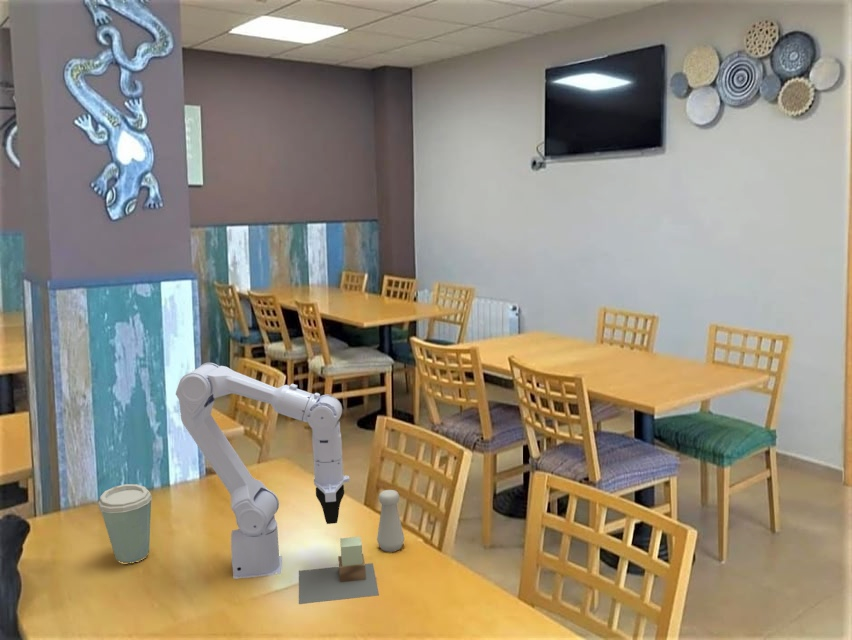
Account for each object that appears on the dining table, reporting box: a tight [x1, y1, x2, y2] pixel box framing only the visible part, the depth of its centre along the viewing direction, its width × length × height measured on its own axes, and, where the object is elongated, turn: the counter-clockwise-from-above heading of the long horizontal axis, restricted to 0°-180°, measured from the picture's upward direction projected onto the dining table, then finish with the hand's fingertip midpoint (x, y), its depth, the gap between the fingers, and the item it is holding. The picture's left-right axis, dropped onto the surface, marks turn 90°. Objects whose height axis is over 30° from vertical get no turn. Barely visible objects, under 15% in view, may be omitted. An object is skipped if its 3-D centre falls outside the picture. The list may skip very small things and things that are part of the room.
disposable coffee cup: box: [97, 483, 153, 563], centre depth 164 cm, size 11×11×15 cm
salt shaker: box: [376, 489, 405, 553], centre depth 165 cm, size 6×6×13 cm
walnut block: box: [337, 553, 366, 582], centre depth 154 cm, size 5×5×3 cm
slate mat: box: [298, 562, 380, 605], centre depth 151 cm, size 15×13×1 cm
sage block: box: [339, 536, 363, 566], centre depth 153 cm, size 4×4×4 cm
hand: (331, 522), depth 156 cm, fingers closed
